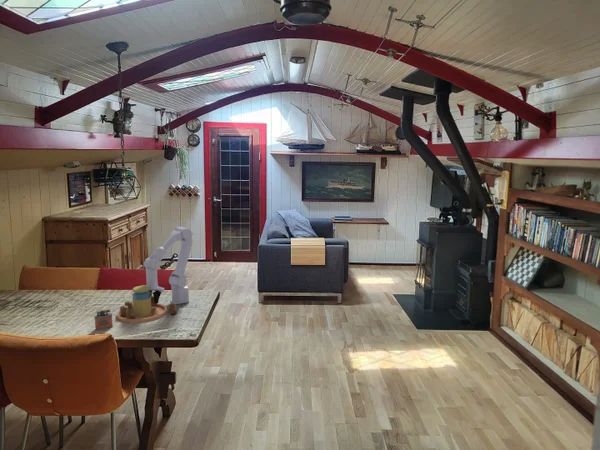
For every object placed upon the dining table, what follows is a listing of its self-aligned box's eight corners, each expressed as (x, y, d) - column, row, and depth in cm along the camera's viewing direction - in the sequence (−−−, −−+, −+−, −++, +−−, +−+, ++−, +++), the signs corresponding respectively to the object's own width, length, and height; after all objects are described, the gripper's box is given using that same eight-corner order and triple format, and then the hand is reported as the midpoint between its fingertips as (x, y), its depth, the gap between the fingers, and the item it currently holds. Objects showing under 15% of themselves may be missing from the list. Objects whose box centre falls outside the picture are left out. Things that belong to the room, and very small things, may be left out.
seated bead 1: (128, 314, 233) (127, 305, 232) (128, 316, 229) (128, 307, 228) (120, 315, 231) (119, 306, 230) (120, 317, 227) (120, 308, 227)
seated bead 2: (132, 309, 239) (132, 300, 239) (133, 311, 236) (132, 302, 235) (125, 310, 238) (124, 301, 237) (125, 312, 234) (124, 304, 233)
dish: (163, 304, 250) (163, 300, 250) (170, 319, 228) (169, 315, 227) (116, 310, 240) (116, 306, 240) (118, 327, 217) (117, 322, 217)
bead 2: (175, 311, 238) (175, 303, 237) (177, 314, 235) (176, 305, 234) (168, 313, 236) (167, 304, 236) (169, 315, 233) (168, 306, 232)
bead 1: (156, 303, 244) (156, 295, 244) (157, 306, 241) (157, 297, 240) (149, 304, 243) (148, 296, 242) (150, 307, 239) (149, 298, 238)
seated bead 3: (134, 317, 228) (133, 308, 227) (135, 320, 224) (134, 310, 224) (126, 318, 226) (125, 309, 226) (126, 321, 223) (126, 311, 222)
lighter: (95, 332, 211) (93, 312, 209) (95, 329, 214) (93, 310, 212) (113, 329, 215) (112, 309, 213) (112, 326, 218) (111, 307, 216)
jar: (150, 310, 240) (149, 284, 238) (152, 316, 232) (151, 289, 229) (133, 313, 236) (131, 286, 234) (134, 319, 228) (132, 291, 225)
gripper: (136, 279, 238) (137, 303, 240) (158, 282, 233) (159, 306, 235) (145, 276, 245) (146, 299, 247) (166, 279, 240) (167, 302, 242)
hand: (153, 302), depth 242 cm, fingers closed on bead 1, 4 cm apart
